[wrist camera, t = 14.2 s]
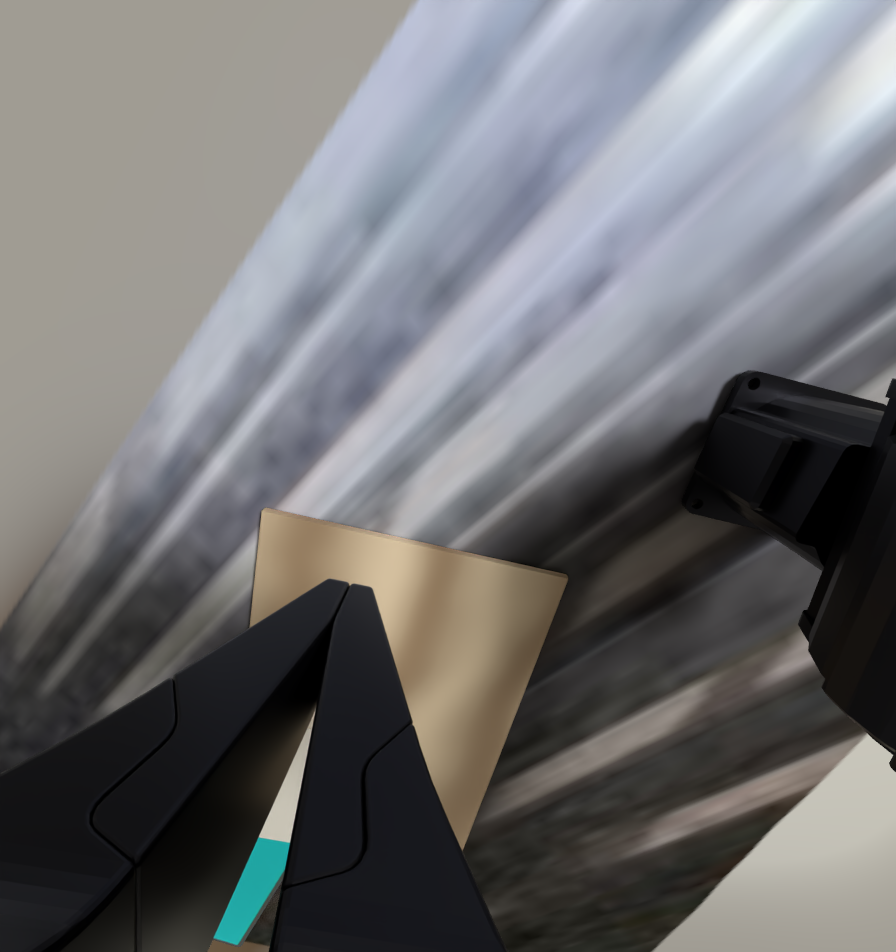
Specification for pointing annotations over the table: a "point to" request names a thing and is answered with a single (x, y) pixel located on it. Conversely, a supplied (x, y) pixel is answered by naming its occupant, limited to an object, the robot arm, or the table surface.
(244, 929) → the smartphone
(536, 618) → the mat
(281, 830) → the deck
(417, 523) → the table surface
